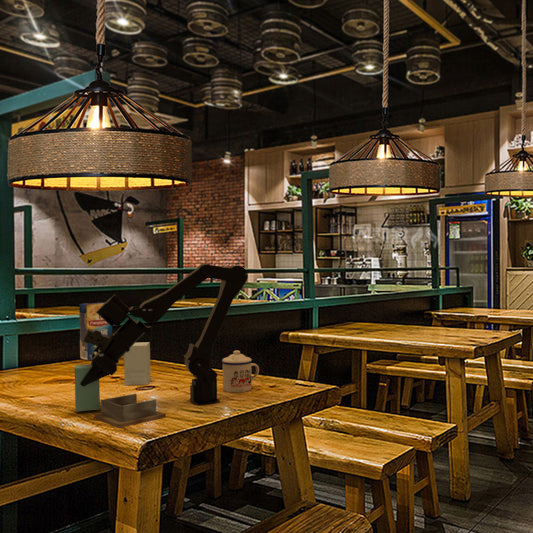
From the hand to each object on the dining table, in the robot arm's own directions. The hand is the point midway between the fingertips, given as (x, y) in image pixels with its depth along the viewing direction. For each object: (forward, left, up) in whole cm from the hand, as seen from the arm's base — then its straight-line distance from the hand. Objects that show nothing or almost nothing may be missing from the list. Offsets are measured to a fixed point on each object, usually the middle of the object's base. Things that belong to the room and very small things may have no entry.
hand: (81, 383), depth 154 cm
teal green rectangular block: (-1, 0, -7) cm, 7 cm away
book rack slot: (-9, +13, -7) cm, 17 cm away
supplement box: (-23, -28, -8) cm, 37 cm away
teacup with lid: (-47, -2, -8) cm, 48 cm away
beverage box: (-24, -87, -8) cm, 90 cm away
